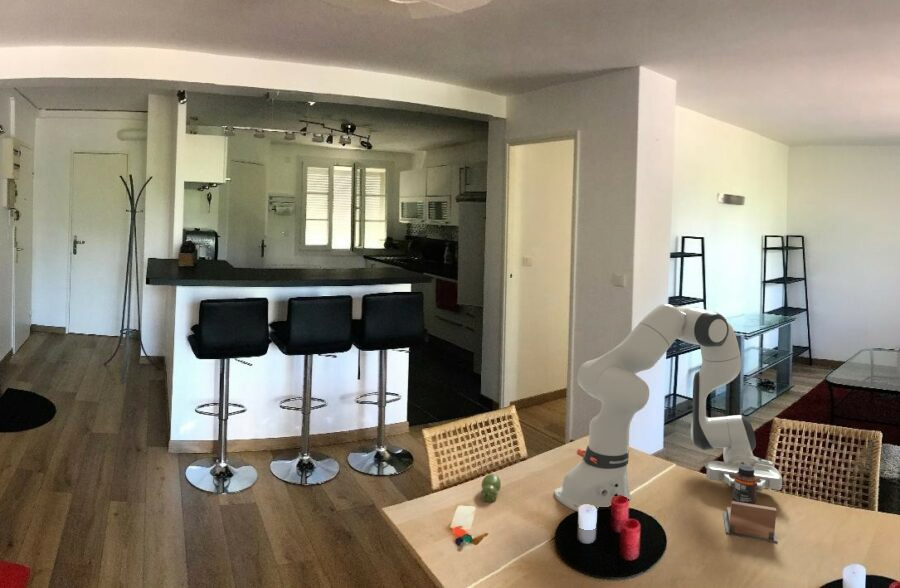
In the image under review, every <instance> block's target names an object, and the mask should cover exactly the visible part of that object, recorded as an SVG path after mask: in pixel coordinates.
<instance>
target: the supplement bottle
mask: <svg viewBox="0 0 900 588" xmlns="http://www.w3.org/2000/svg"><path fill="white" fill-rule="evenodd" d="M734 481H735V484H734V487H733V490H732V491H733V492H732V501H735V502H741V503H747V504H754V505H756V503H757V500H756V499H757V492H758V490H757V477H756V476H755V475H754V468H753V467H751V466H748V465H740V466H739V471H738V472H737V473H736V474H735V478H734Z"/></svg>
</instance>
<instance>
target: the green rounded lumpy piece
mask: <svg viewBox="0 0 900 588" xmlns="http://www.w3.org/2000/svg"><path fill="white" fill-rule="evenodd" d="M501 484H502V482H501V479H500V478H499V477H498V476H497V474H493V473H491V474H487V475H485V476H484V477H483V479H482V481H481V495H480V498H481V500H482V501H483V500H486V501H485V502H488V501H494V500H495V501H496V500H497V498H498V497H497V495H498V493H499V491H500V489H501V486H502V485H501ZM495 501H494V502H495Z"/></svg>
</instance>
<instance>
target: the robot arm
mask: <svg viewBox="0 0 900 588" xmlns="http://www.w3.org/2000/svg"><path fill="white" fill-rule="evenodd" d="M733 328H734V327H733V326H732V325H731V324H730V323H729V322H727V319H726V318H725V317H724V315H722V314H720V313H719V312H716V311H713V310H707V309H704V308H700V307H698V306H689V305H688V306H687V305H682V304H681V305H679V304H677V305H672V304H668V303H663V304H659V305H658V306H656V307H655V308H653V309H652V310H651V311H650V312H648V313H647V314H646V316H644V318H643V319H642V320H640V322H639V323H638V324H637V325H636V326H635V327H634V328H633V329H632V330H631V332H630V333H629V334H628V335H627V336H626V337H625V338H624V339H623V340H622V341H621V342H620V343H619V344H617V346H615V347H614V348H612V349H611V350H609V351H608V352H606V353H605V354H603V355H601V356H599V357H597V358H594V359H590V360H587V361H585V362H583V363H582V364H581V365H580V366H579V368H578V370H577V373H576V381H577V384H578V386H579V387H580V388H581V389H582V390H583V391H584V392H585V393H586V394H587V395H588V396H590V397H592V398H594V399H597V400H598V401H600V402H601V408H600V411H599V413H598V414H597V415H595V416H594V417H592V419H591V420H590V422H589V432H588V433H589V434H588V436H589V437H588V445H587V447H586V449H585V450H584V449H582V448H577V450H576V455H578V456H580V457H581V458H582V460H580V461H579V462H578V464H575V466H574V467H573V468H571V469H570V470H569V471H568V472H567V473H566V474H565V476H564V478H563V481H562V486H561V487H558V488H555V489H554V497H555V498H556V499H557V500H558V501H559V502H560V503H561V504H562V505H564V506H566V507H567V508H569V509H571V510H572V511H576V512H578V511H577V510H578V507H579V506H580V505H583V504H590V505H594V506H596V507H597V508H599V507H609V505H610V502H611V498H612V497H614V496H618V495H623V496H626V497H627V498H628V499H629V501H630V500H631V494H630V489H629V483H628V482H629V481H628V470H627V469H628V464H629V459H630V458H629V455H630V454H629V452H630V451H629V449H628V447H629V446H628V445H629V434H630V433H629V432H630V427H631V423H632V420H633V418H634V416H635V415H636V413H638V412H639V411H641V410H643V409H644V408H645V406H646V405H647V404H648V401H649V398H650V388H649V385H648V384H647V382H646V381H645V380H644V379H642V378H641V377H640V376H638V375H637V374H638V373H640V372H643V371H648V370H650V369H651V368H653V367H655V365H656V364H657V363H658V362H659V360H660V359H661V358H662V357H663V356H664V354H666V353H667V351H668V350H669V349H670V347H671V346H672V345H673V343H674V342H675V341H676V340H680V341H682V342H685V343H687V344H690V345H691V344H692V345H696V346H700V355H701V361H702V362H701V367H700V369H699V370H698V371H697V372H695V373H694V377H693V380H692V381H693V382H692V384H693V385H692V407H691V408H692V411H691V413H692V416H691V417H692V418H691V425H690V437H691V441H692V444H693V445H694V446H696V447H697V448H699V449H701V450H703V451H707V450H714V449H718V448H719V449H721V448H722V449H723V451H722V452H723V455H722V456H723V461H719V460H710V461H708V462H705V463H704V468H705V469H706V478H707V479H708V480H710V481H711V480H712V481H716V482H722V483H725V484H728V487H732V488H734V484H735V481H734V478H735V474H736V473H737V472H738V471H739V466H740V465H748V466H751V467H753V468H754V475H755V476H756V477H757V492H763V490H764V489H769V490H775V491H779V490H782V489H783V487H782V486H783V476H782V474H781V473H780V471H779V469H777V468H776V467H774V463H773V461H770V460H767V459H763V458H760V457H757V456H755V455H754V454H753V451H754V450H755V448H756V445H757V440H756V435H755V431H754V428H753V424H752V423H751V421H750V420H749V419H748V418H747V417H746V416H744V415H742V414H736V415H735V414H734V415H726V416H714V417H709V416H706V415H707V413H706V412H707V410H706V408H707V407H706V406H707V397H708V395H709V394H710V393H712V392H713V391H715V390H717V389H718V388H721V387H723V386H725V385H727V384H729V383H731V382H733V381H734V380H735V379H736V378H737V377H738V375H739V374H740V372H741V370H742V357H741V356H742V355H741V351H740V347H739V343H738V339H737V336H736V333H735V330H734V329H733Z"/></svg>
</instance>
